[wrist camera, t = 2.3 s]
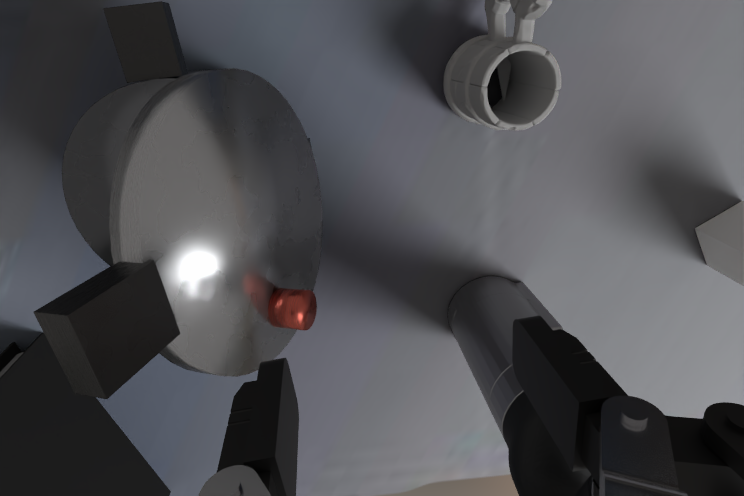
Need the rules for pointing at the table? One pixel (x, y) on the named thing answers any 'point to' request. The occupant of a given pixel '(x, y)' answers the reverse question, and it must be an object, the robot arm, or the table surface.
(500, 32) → the mug
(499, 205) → the table surface
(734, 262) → the milk
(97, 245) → the pot
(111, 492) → the binder
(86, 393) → the lid
